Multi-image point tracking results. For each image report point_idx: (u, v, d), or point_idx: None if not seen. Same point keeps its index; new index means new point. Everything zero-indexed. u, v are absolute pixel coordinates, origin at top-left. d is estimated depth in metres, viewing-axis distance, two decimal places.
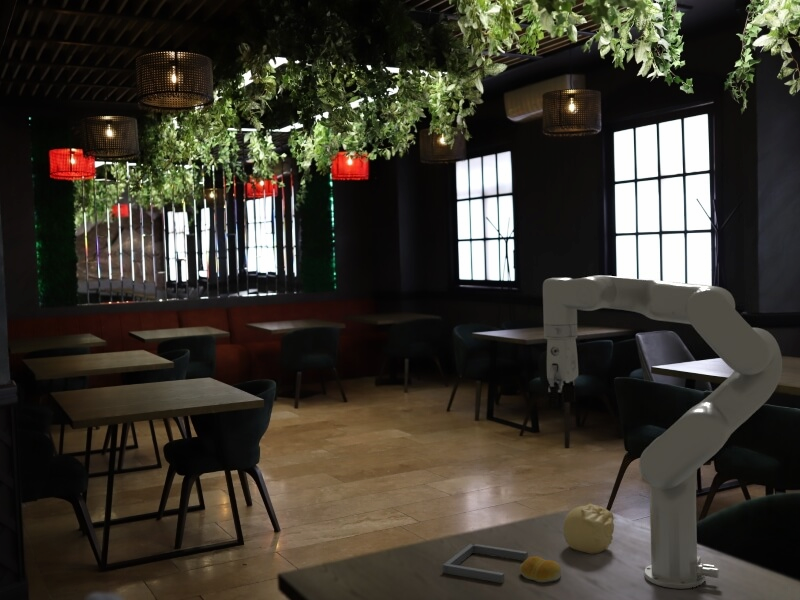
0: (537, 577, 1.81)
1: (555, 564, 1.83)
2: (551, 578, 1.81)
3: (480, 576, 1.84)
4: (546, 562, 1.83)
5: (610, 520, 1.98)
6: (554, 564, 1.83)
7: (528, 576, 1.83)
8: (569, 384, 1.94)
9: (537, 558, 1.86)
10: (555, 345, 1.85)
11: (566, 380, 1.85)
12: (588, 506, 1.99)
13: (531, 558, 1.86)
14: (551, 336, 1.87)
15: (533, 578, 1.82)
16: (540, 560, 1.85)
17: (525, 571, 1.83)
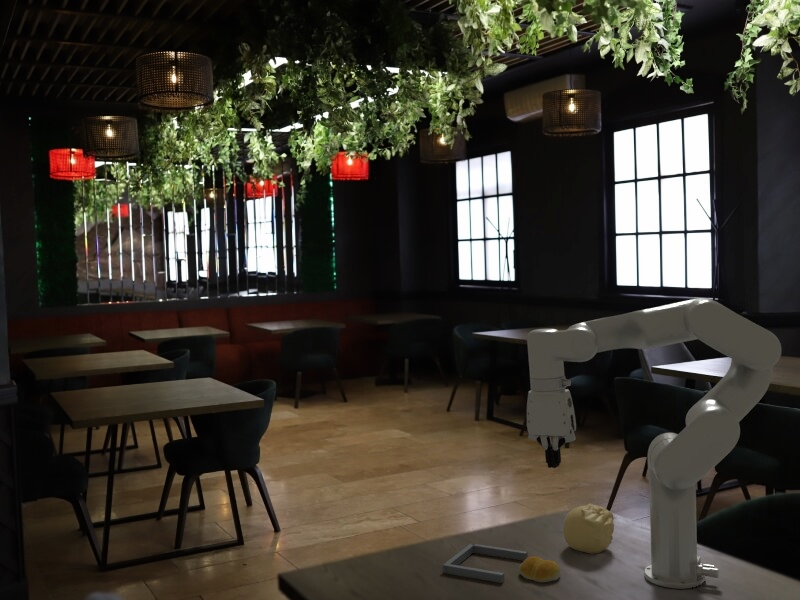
0: (537, 577, 1.81)
1: (554, 564, 1.83)
2: (550, 578, 1.81)
3: (480, 576, 1.84)
4: (545, 562, 1.83)
5: (610, 520, 1.98)
6: (553, 564, 1.83)
7: (527, 576, 1.83)
8: (552, 447, 1.84)
9: (536, 558, 1.86)
10: (568, 396, 1.81)
11: None
12: (588, 506, 1.99)
13: (530, 558, 1.86)
14: (562, 389, 1.80)
15: (532, 578, 1.82)
16: (539, 560, 1.85)
17: (524, 571, 1.83)
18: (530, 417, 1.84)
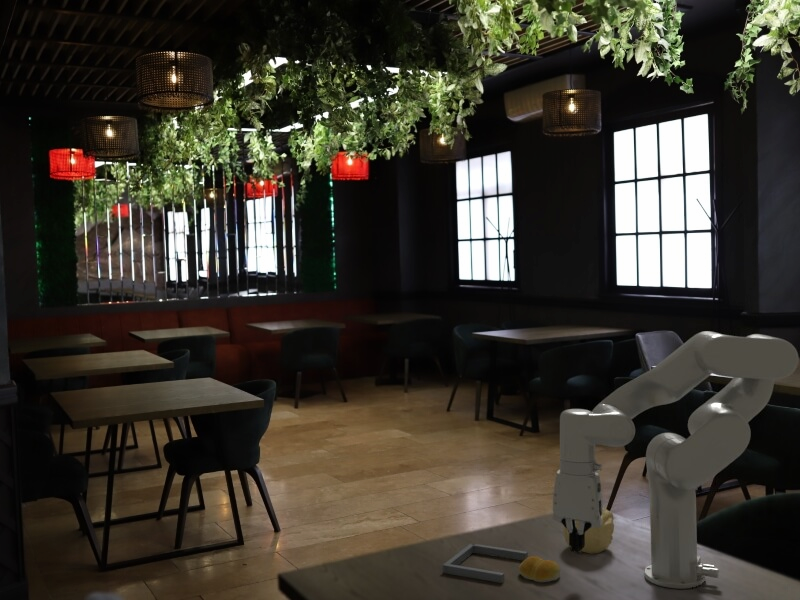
0: (536, 577, 1.81)
1: (554, 564, 1.83)
2: (550, 578, 1.81)
3: (480, 576, 1.84)
4: (545, 562, 1.83)
5: (610, 520, 1.98)
6: (553, 564, 1.83)
7: (527, 576, 1.83)
8: (576, 530, 1.80)
9: (536, 558, 1.86)
10: (598, 481, 1.77)
11: None
12: None
13: (530, 558, 1.86)
14: (592, 473, 1.76)
15: (532, 578, 1.82)
16: (539, 560, 1.85)
17: (524, 571, 1.83)
18: (557, 499, 1.79)
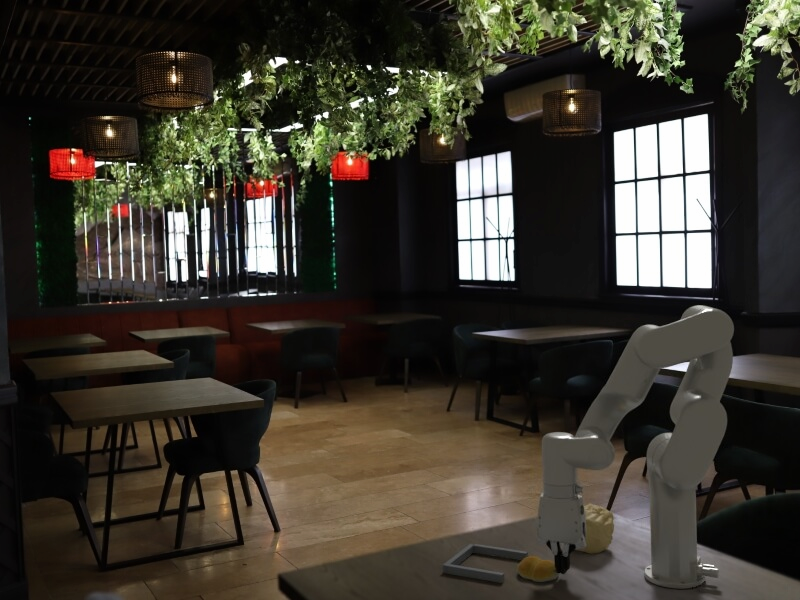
0: (534, 576, 1.81)
1: (552, 564, 1.84)
2: (548, 578, 1.81)
3: (480, 576, 1.84)
4: (543, 562, 1.84)
5: (610, 520, 1.98)
6: (551, 564, 1.83)
7: (525, 576, 1.83)
8: (561, 552, 1.83)
9: (534, 558, 1.86)
10: (581, 503, 1.79)
11: None
12: (588, 506, 1.99)
13: (528, 558, 1.86)
14: (575, 496, 1.79)
15: (530, 578, 1.82)
16: (537, 560, 1.86)
17: (522, 571, 1.84)
18: (541, 522, 1.82)
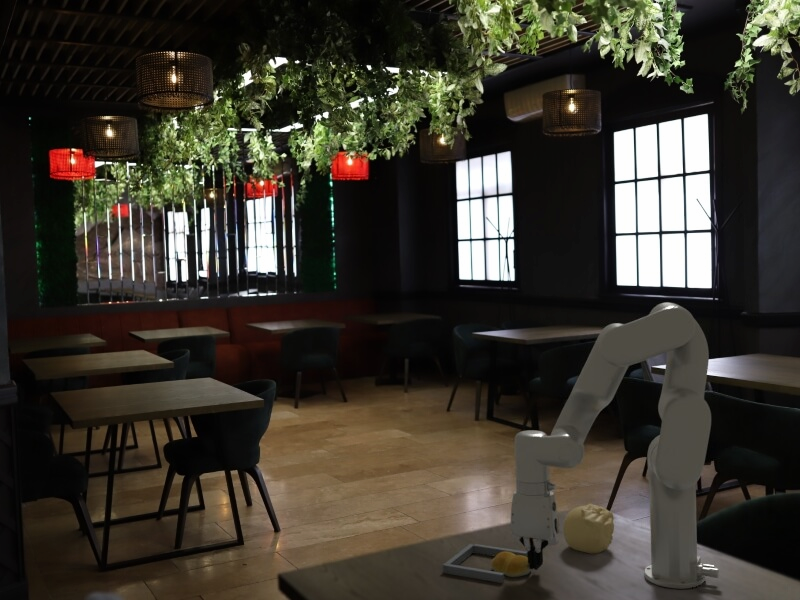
0: (508, 571, 1.85)
1: (525, 559, 1.87)
2: (521, 572, 1.84)
3: (480, 576, 1.84)
4: (517, 557, 1.87)
5: (610, 520, 1.98)
6: (524, 559, 1.87)
7: (499, 571, 1.86)
8: (534, 548, 1.86)
9: (508, 553, 1.89)
10: (553, 500, 1.83)
11: None
12: (588, 506, 1.99)
13: (502, 553, 1.89)
14: (547, 493, 1.82)
15: (504, 573, 1.86)
16: (511, 555, 1.89)
17: (496, 566, 1.87)
18: (514, 518, 1.85)
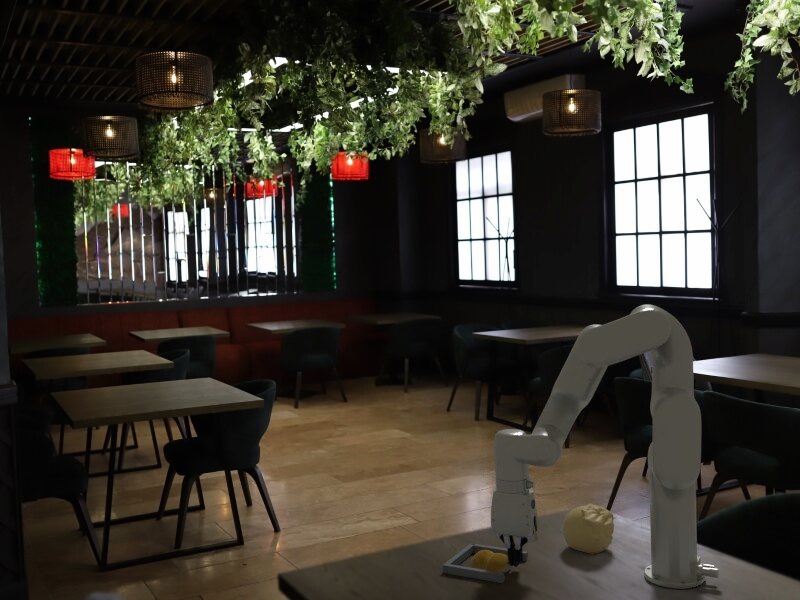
0: (488, 569, 1.86)
1: (505, 557, 1.89)
2: (501, 570, 1.86)
3: (480, 576, 1.84)
4: (496, 555, 1.89)
5: (610, 520, 1.98)
6: (504, 557, 1.89)
7: None
8: (514, 545, 1.88)
9: (487, 551, 1.91)
10: (532, 498, 1.85)
11: None
12: (588, 506, 1.99)
13: (482, 551, 1.91)
14: (526, 490, 1.84)
15: None
16: (490, 553, 1.91)
17: (476, 564, 1.88)
18: (494, 516, 1.87)
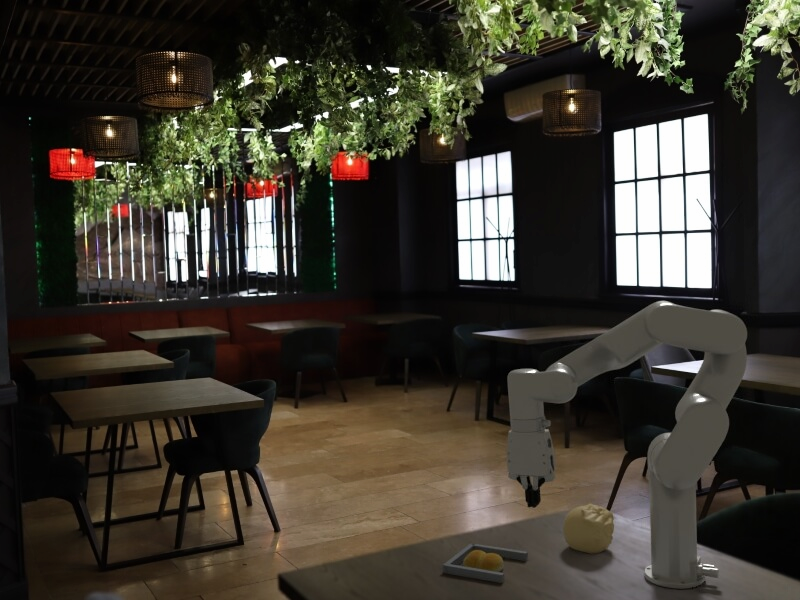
0: None
1: (498, 556, 1.89)
2: (495, 570, 1.87)
3: (480, 576, 1.84)
4: (489, 555, 1.89)
5: (610, 520, 1.98)
6: (497, 556, 1.89)
7: None
8: (531, 486, 1.85)
9: (480, 551, 1.91)
10: (548, 437, 1.82)
11: None
12: (588, 506, 1.99)
13: (474, 552, 1.91)
14: (542, 429, 1.82)
15: None
16: (483, 553, 1.91)
17: (469, 565, 1.88)
18: (510, 457, 1.85)
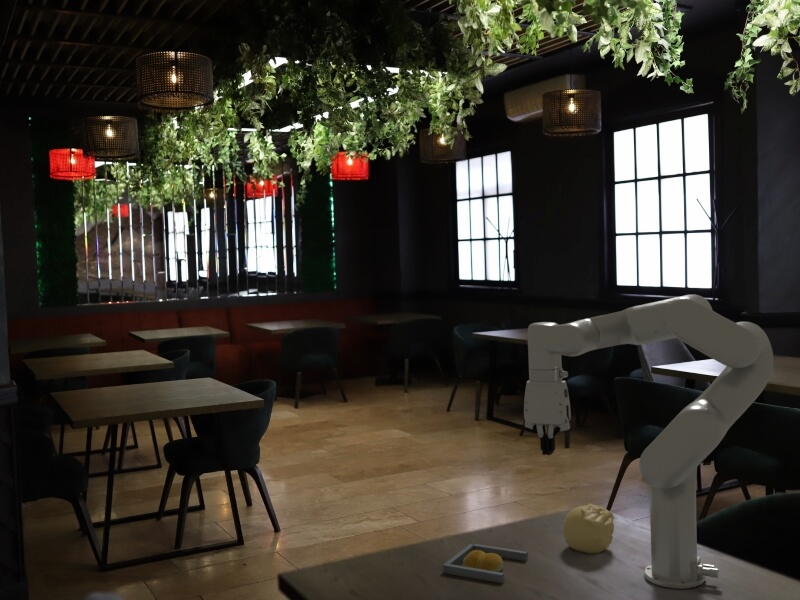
0: None
1: (497, 556, 1.89)
2: (495, 570, 1.87)
3: (480, 576, 1.84)
4: (489, 555, 1.89)
5: (610, 520, 1.98)
6: (497, 556, 1.89)
7: None
8: (546, 435, 1.93)
9: (479, 551, 1.91)
10: (565, 387, 1.90)
11: None
12: (588, 506, 1.99)
13: (474, 552, 1.91)
14: (559, 380, 1.89)
15: None
16: (482, 553, 1.91)
17: (469, 565, 1.88)
18: (527, 406, 1.92)
